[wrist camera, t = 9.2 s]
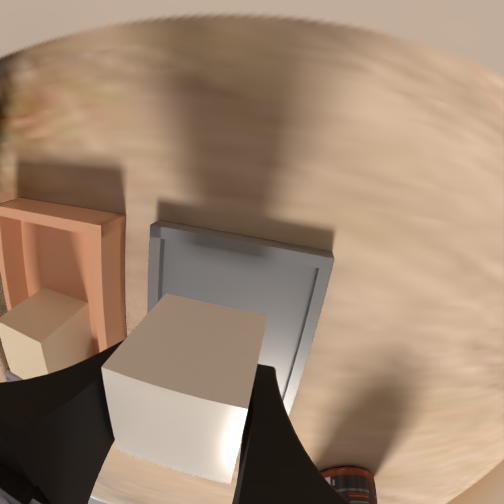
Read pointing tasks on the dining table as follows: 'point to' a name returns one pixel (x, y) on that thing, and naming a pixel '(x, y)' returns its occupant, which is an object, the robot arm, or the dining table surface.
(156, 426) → the cream cube on tray
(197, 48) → the dining table surface
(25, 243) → the terracotta dish
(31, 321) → the tan cube
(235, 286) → the parts tray
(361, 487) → the supplement bottle
